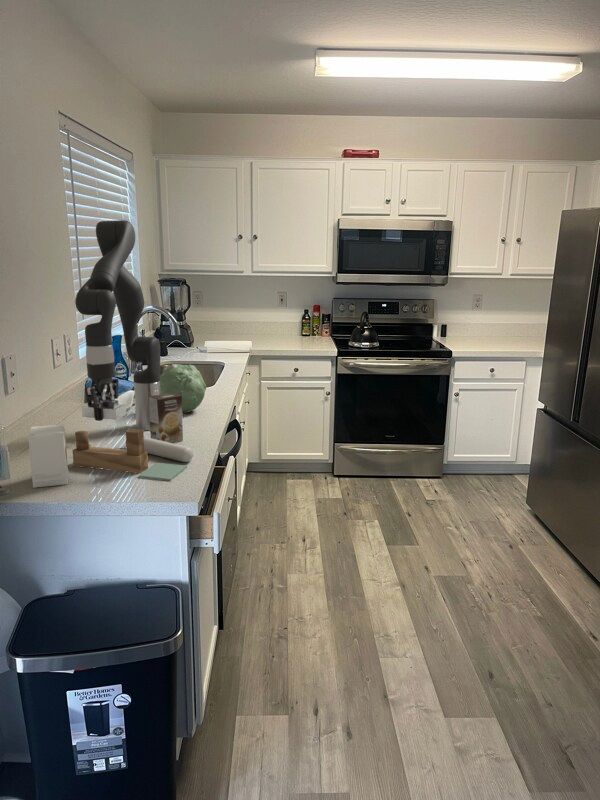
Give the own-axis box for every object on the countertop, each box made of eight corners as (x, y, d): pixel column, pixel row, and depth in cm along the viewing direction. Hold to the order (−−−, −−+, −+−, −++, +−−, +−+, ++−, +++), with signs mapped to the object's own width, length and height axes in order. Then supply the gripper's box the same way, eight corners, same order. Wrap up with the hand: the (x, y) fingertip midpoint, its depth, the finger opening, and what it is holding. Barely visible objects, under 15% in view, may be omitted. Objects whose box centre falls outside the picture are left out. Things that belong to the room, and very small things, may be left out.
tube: (194, 464, 179) (135, 449, 191) (197, 447, 179) (138, 433, 191) (183, 464, 174) (123, 449, 186) (186, 446, 174) (126, 432, 186)
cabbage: (206, 416, 228) (205, 366, 223) (157, 417, 226) (155, 367, 221) (207, 406, 243) (205, 359, 239) (161, 407, 241) (159, 360, 236)
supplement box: (68, 484, 159) (63, 432, 155) (32, 488, 156) (27, 435, 153) (69, 473, 167) (64, 423, 164) (35, 476, 164) (30, 426, 161)
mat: (156, 464, 175) (156, 462, 175) (187, 467, 173) (187, 465, 173) (138, 477, 165) (138, 475, 165) (170, 480, 163) (170, 478, 162)
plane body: (82, 461, 177) (79, 423, 174) (148, 467, 172) (146, 429, 169) (73, 466, 173) (70, 427, 170) (140, 473, 168) (138, 433, 165)
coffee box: (160, 446, 192) (158, 399, 188) (150, 442, 196) (147, 396, 192) (183, 440, 198) (182, 395, 194) (173, 436, 202) (171, 391, 199)
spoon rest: (121, 419, 224) (120, 401, 222) (95, 417, 227) (93, 399, 225) (153, 405, 246) (152, 388, 244) (129, 402, 249) (128, 386, 247)
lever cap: (93, 411, 173) (92, 397, 172) (126, 414, 171) (125, 399, 170) (82, 416, 168) (81, 401, 167) (116, 419, 165) (115, 404, 164)
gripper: (102, 355, 173) (106, 410, 177) (73, 364, 159) (78, 423, 163) (125, 357, 171) (128, 412, 175) (98, 366, 158) (102, 425, 162)
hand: (104, 417), depth 169 cm, fingers closed on lever cap, 5 cm apart
